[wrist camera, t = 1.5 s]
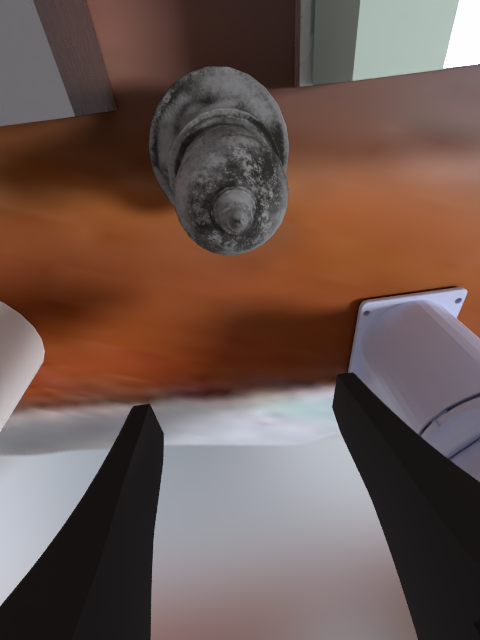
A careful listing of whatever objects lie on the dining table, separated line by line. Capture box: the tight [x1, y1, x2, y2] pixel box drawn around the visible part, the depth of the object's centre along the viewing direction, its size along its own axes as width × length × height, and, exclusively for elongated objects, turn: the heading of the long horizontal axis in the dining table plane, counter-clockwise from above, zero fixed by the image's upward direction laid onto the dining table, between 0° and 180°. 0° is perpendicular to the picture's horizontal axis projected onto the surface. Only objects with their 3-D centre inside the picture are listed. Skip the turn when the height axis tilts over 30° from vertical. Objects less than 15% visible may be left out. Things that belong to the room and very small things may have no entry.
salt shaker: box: [149, 66, 289, 255], centre depth 11 cm, size 6×6×12 cm
